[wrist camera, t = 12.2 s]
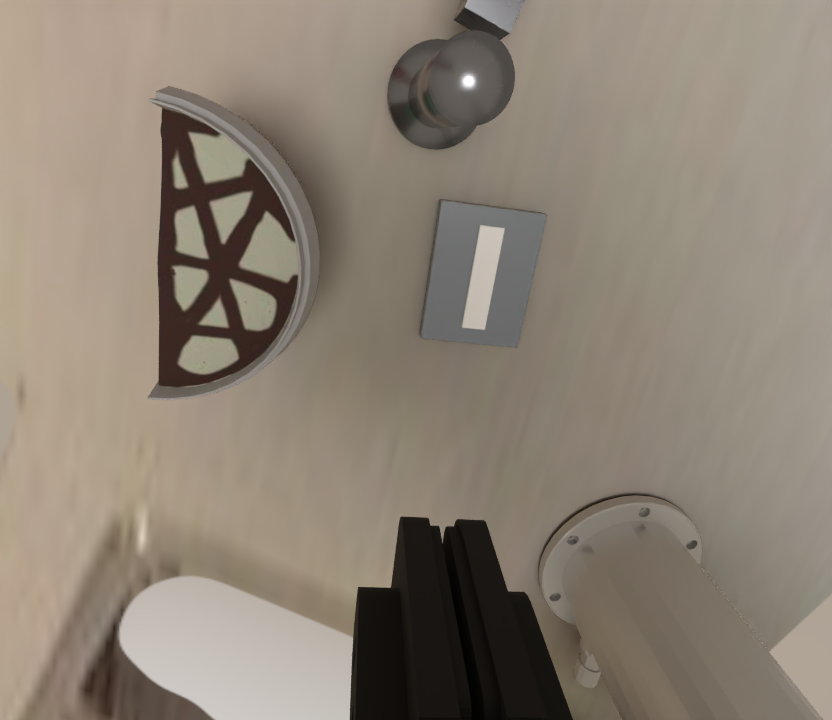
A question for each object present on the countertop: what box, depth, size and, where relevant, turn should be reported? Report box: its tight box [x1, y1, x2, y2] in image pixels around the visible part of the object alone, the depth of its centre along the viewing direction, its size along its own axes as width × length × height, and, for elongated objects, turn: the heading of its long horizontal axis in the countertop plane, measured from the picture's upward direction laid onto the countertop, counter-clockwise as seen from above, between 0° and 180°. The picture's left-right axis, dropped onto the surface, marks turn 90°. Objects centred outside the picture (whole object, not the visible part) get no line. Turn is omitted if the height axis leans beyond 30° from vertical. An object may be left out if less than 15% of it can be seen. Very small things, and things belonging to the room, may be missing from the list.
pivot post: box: [388, 30, 515, 149], centre depth 23 cm, size 5×5×10 cm
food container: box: [148, 86, 320, 400], centre depth 25 cm, size 12×6×10 cm, turn 169°
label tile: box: [420, 199, 547, 348], centre depth 31 cm, size 8×6×1 cm
